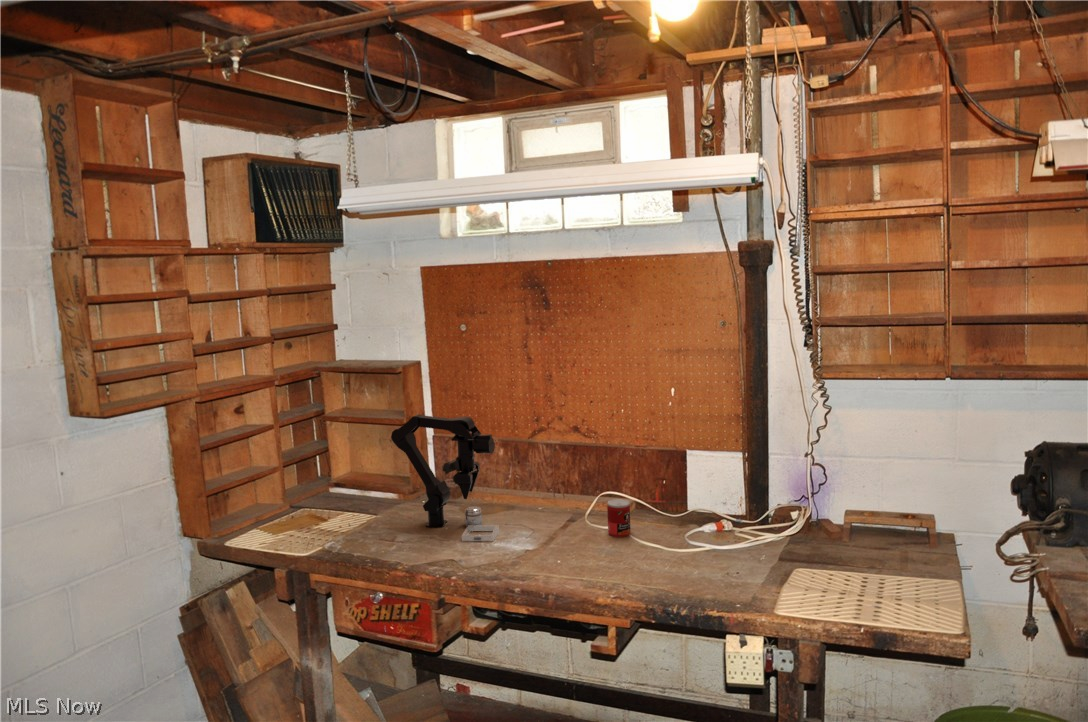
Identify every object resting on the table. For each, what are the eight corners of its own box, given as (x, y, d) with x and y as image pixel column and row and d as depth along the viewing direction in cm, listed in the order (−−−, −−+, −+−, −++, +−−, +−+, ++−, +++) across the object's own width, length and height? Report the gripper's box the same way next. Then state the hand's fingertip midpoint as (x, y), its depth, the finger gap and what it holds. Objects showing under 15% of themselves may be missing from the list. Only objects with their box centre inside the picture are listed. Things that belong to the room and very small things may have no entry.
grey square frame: (468, 530, 284) (468, 525, 283) (499, 530, 282) (498, 525, 282) (461, 541, 272) (461, 536, 272) (493, 542, 271) (492, 536, 271)
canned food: (620, 539, 269) (619, 507, 268) (603, 533, 275) (602, 502, 274) (635, 533, 274) (634, 502, 273) (618, 528, 280) (617, 497, 279)
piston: (467, 521, 293) (466, 506, 293) (483, 521, 293) (482, 506, 292) (463, 527, 287) (462, 511, 287) (480, 527, 287) (479, 511, 286)
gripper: (449, 447, 294) (451, 488, 296) (437, 459, 276) (439, 503, 278) (479, 446, 293) (481, 487, 295) (469, 459, 275) (471, 503, 277)
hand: (468, 495), depth 286 cm, fingers open, 9 cm apart
